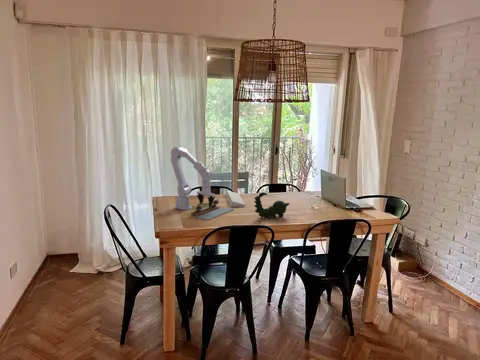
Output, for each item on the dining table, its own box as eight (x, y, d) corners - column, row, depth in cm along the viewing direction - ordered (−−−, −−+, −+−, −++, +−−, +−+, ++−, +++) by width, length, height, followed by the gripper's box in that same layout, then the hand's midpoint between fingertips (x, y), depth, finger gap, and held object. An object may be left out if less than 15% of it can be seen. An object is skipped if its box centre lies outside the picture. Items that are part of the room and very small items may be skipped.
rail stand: (191, 214, 239) (191, 205, 238) (212, 206, 259) (212, 198, 258) (198, 216, 236) (198, 207, 235) (219, 208, 256) (219, 200, 255)
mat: (197, 217, 233) (197, 216, 233) (223, 207, 258) (223, 206, 258) (207, 220, 228) (207, 219, 228) (233, 209, 253) (233, 209, 253)
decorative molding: (236, 198, 295) (225, 195, 293) (238, 193, 295) (226, 190, 292) (243, 210, 262) (230, 207, 260) (245, 204, 262) (232, 201, 260)
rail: (192, 210, 237) (192, 205, 236) (215, 202, 259) (215, 198, 258) (195, 211, 235) (195, 206, 235) (218, 202, 257) (218, 198, 256)
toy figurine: (258, 223, 232) (293, 217, 239) (257, 195, 227) (292, 190, 235) (253, 218, 240) (286, 213, 248) (252, 191, 236) (286, 186, 244)
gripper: (218, 187, 244) (217, 206, 246) (201, 184, 251) (201, 202, 254) (211, 189, 238) (211, 208, 241) (195, 185, 245) (195, 204, 248)
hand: (205, 205), depth 247 cm, fingers open, 7 cm apart
